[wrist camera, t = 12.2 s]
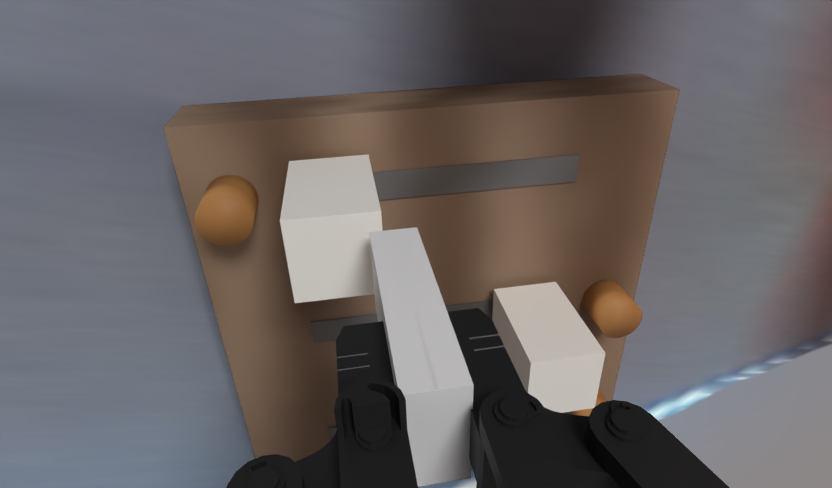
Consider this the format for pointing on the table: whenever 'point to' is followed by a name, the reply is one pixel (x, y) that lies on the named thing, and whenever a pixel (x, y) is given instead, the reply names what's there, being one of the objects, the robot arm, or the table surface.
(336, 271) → the switch
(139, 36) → the table surface
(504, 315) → the switch
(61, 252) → the table surface
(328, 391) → the switch unit
